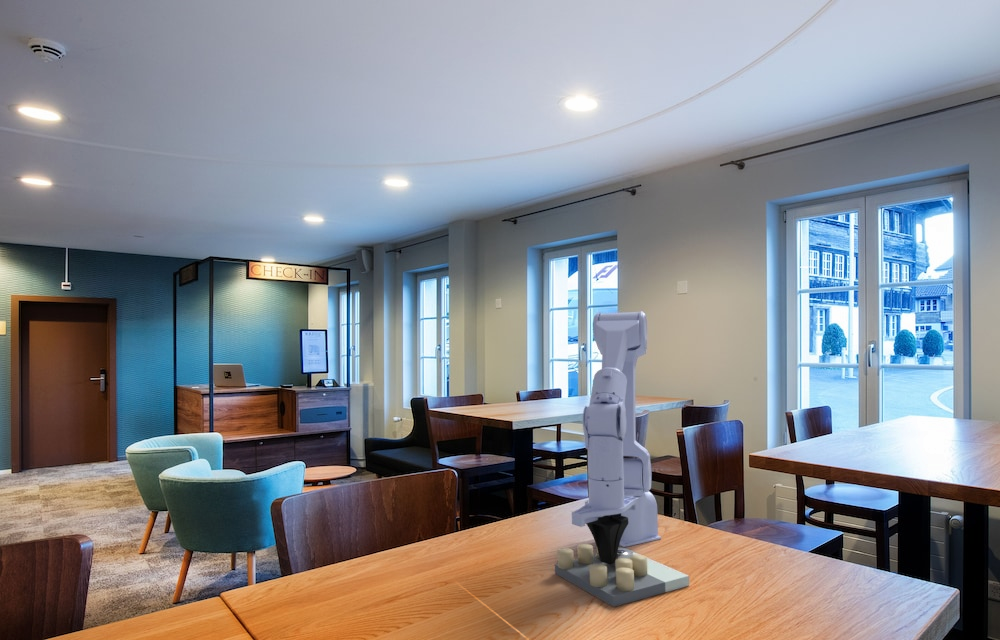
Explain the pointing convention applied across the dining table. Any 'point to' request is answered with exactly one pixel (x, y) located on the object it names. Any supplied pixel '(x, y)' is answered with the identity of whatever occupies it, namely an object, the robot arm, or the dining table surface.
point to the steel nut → (622, 554)
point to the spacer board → (611, 590)
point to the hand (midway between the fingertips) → (607, 562)
